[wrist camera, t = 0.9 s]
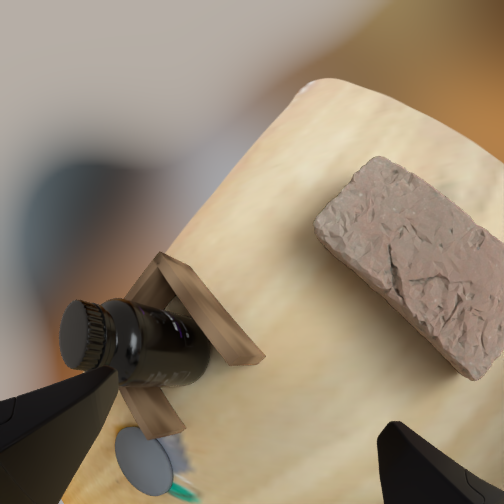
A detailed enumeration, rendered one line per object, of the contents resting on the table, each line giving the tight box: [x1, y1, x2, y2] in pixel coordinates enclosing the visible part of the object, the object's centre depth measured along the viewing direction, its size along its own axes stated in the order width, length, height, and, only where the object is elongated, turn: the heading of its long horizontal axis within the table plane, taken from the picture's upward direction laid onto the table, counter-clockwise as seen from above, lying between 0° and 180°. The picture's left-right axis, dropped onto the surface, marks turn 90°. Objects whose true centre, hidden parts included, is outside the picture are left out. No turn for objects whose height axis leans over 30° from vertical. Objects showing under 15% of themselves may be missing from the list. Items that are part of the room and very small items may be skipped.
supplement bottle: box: [59, 298, 210, 387], centre depth 19 cm, size 7×7×12 cm
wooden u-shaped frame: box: [118, 252, 266, 440], centre depth 23 cm, size 12×12×4 cm
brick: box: [313, 156, 504, 381], centre depth 16 cm, size 17×8×5 cm, turn 43°
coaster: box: [115, 427, 173, 496], centre depth 21 cm, size 9×9×1 cm
